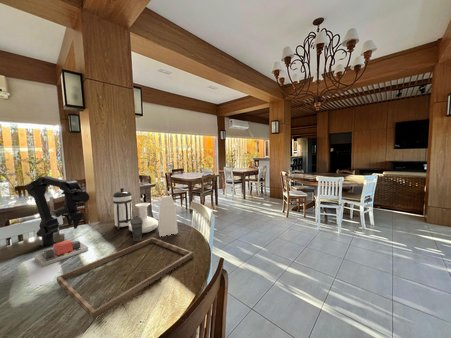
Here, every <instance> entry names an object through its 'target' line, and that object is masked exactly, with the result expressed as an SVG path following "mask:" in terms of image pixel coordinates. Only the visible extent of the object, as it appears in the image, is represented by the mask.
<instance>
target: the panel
mask: <svg viewBox="0 0 451 338" xmlns="http://www.w3.org/2000/svg"><path fill="white" fill-rule="evenodd" d="M52 250H53V249H52ZM87 251H89V247H88V246H87V245H86V244H84V243H83V242H80V247H79V248H76V249H73V250H72V251H69V252H66V253H63V254H60V255H57V254H55V253H54V256H52V257H49V258H45V257H44V252H42V253H39V254H36V255H34V260H35V261H36V263H38V264H39V266H41V267H42V268H43V267H47V266H48V265H52V264H54V263H56V262H59V261H62V260H65V259H68V258H70V257H73V256H76V255H79V254H81V253H84V252H87ZM53 252H54V250H53Z"/></svg>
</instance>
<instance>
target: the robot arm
mask: <svg viewBox="0 0 451 338" xmlns="http://www.w3.org/2000/svg"><path fill="white" fill-rule="evenodd" d="M48 186H52V187H57V188H59V189H60V191H62V192H61V194H60V195H64V196H63V197H64V203H63V206H61V207H59V208H57V209H55V210H53V211H52V212H51V209H50V207H49V204H48V202H47V199H46V196H45V195H46V193H47V187H48ZM25 189H26V192H27V193H28V195H29V196H30V197H32V198H33V199H34V202H35V205H36V209H37V211H38V214H39V217H40V219H41V220H40V223H39V230H38V231H36V236H37V237H38V238H39V237H40V238H41V243H40V244H39V245H40V246H42V247H47V246H50V245H53V244H56V243H58V242H57V241H56V240H55V233H58V232H59V227H60V222H59V220H58V218H59V217H61V216H62V217H64V218H65V220H66V222H67V224H68V226H72V227H73V229H74V230H76V229H77V228H78V227H79V224H80V223H81V221H82V219H83V217H84V216H85V215H84V213H83V212H82V211H80V210H79V209H78V205H79V203H84V204H85V203H87V202H88V201H89V200H90V195H89V194H88V193H87V191H86V190H83V188H82V187H81V186H80V184H79V183H78V181H77V180H74V179H73V180H72V179H71V180H66V179H65V180H63V179H59V178H55V177H51V176H50V175H49V176H47V175H45V176H40V177H37V179H36V180H33V181H31V182H30V183H28V184H27V185H26V186H25ZM52 214H53V216H54V217H53V216H52Z"/></svg>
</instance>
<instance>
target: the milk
mask: <svg viewBox="0 0 451 338" xmlns="http://www.w3.org/2000/svg"><path fill="white" fill-rule="evenodd" d="M177 214H178V213H177V207H176V203H175V200H174V198H173V197H172V195H166V196H165V195H163V196H162V197H161V199H160V202H159V204H158V226H157V227H158V229H157V231H158V235H159V237H160V238H161V236H162V237H167V236H166V235H168V236H172V235H171V234H174V235H178V234H179V230H178V228H179V227H178V218H177ZM177 233H178V234H177Z"/></svg>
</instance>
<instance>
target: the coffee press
mask: <svg viewBox="0 0 451 338" xmlns="http://www.w3.org/2000/svg"><path fill="white" fill-rule="evenodd" d="M112 198H113V199H112V202H113V203H112V204H113V215H114V216H113V217H114V218H113V220H114V224H113V226H114V227H116V230H117V231H119V230H120V229H121V228H123V227H127V226H128V227H129V224H130V223H131V220H132V218H133V210H132V207H133V205H132V201H133V200H132V193H131V191H129V190H124V188H123V187H121V188H120V190H119V191H115V192H114V193H113V195H112Z"/></svg>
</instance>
